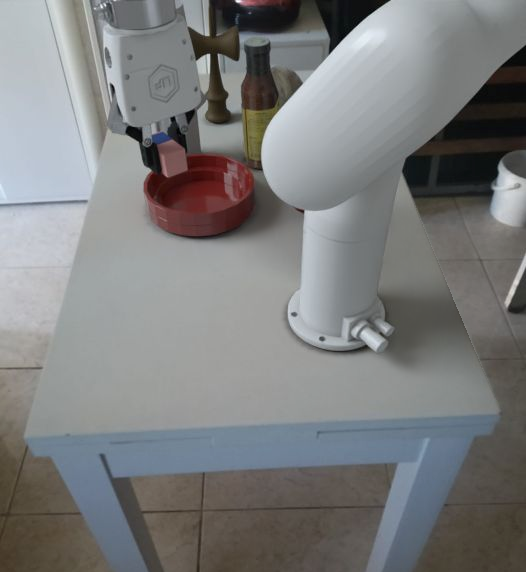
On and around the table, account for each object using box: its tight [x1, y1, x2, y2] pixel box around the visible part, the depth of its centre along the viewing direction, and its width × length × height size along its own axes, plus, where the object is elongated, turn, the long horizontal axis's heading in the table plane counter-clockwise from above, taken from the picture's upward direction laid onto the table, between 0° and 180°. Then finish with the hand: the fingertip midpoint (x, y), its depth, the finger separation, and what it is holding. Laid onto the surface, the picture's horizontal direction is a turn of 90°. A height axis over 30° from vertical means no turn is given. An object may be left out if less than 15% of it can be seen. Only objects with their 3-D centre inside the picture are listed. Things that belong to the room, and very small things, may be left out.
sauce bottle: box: [240, 36, 279, 170], centre depth 94 cm, size 6×6×20 cm
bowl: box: [142, 153, 256, 237], centre depth 90 cm, size 17×17×4 cm
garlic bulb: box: [270, 65, 304, 110], centre depth 110 cm, size 9×8×10 cm
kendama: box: [187, 4, 241, 124], centre depth 104 cm, size 6×10×20 cm, turn 94°
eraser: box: [152, 131, 188, 178], centre depth 74 cm, size 6×3×3 cm, turn 36°
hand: (166, 163), depth 75 cm, fingers closed on eraser, 3 cm apart
